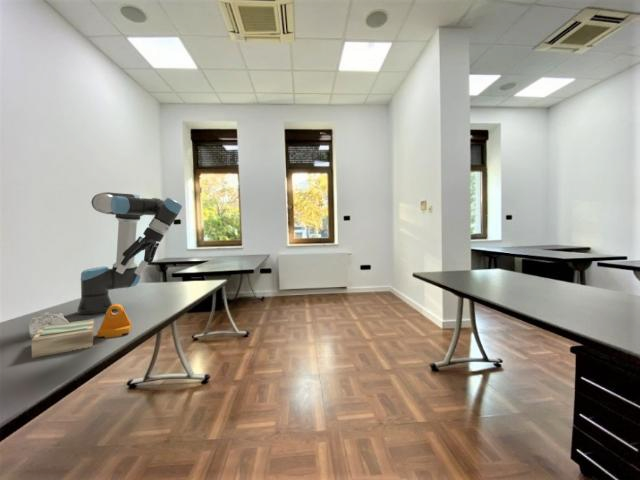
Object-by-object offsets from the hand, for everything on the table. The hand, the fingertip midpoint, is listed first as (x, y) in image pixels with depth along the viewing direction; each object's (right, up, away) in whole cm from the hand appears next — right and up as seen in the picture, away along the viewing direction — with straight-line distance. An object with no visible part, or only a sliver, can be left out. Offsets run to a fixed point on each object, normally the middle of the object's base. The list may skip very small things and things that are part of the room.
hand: (128, 273), depth 124 cm
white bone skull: (-32, -25, -2) cm, 41 cm away
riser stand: (-14, -25, -15) cm, 32 cm away
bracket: (-3, -25, -3) cm, 26 cm away
